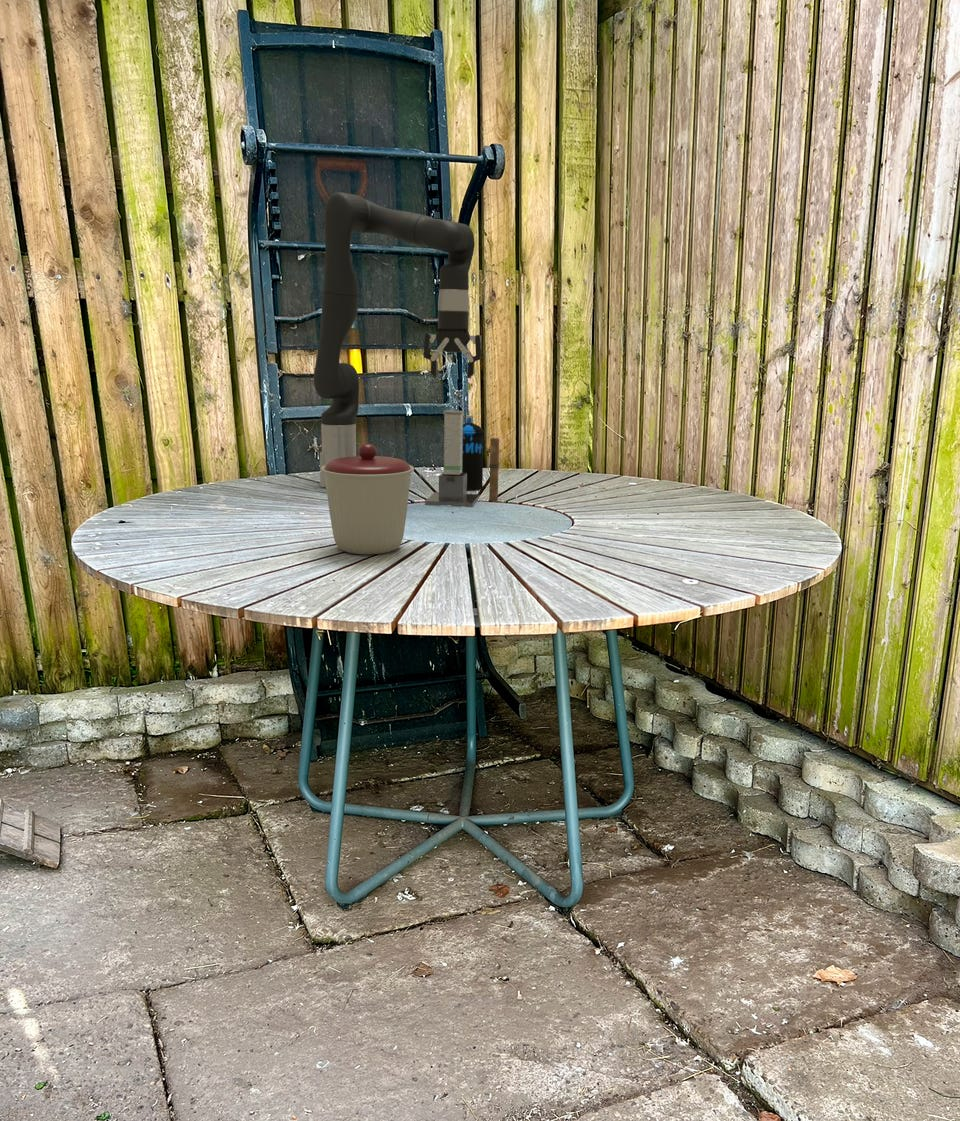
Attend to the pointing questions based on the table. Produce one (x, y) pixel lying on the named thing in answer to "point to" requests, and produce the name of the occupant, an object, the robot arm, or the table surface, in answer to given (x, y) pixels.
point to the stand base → (452, 492)
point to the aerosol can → (472, 454)
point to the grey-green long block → (453, 442)
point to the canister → (367, 501)
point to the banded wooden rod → (494, 469)
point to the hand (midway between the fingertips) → (452, 377)
